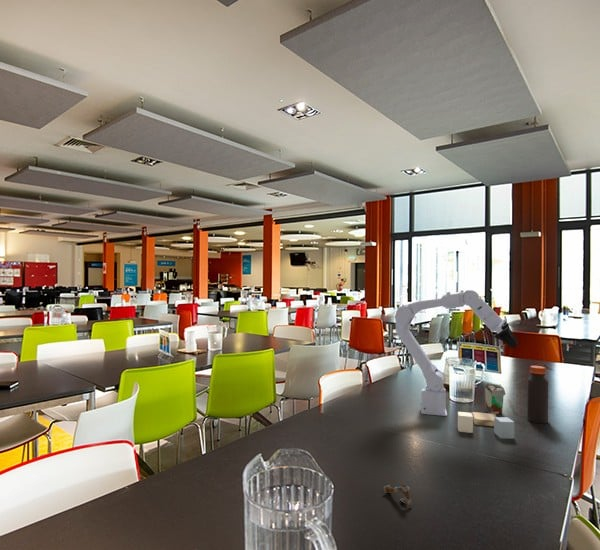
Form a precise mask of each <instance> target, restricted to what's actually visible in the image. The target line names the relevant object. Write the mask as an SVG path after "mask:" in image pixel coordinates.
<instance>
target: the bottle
mask: <svg viewBox="0 0 600 550" xmlns="http://www.w3.org/2000/svg"><path fill="white" fill-rule="evenodd" d="M529 369H530V371H529V372H530V377H528V378H527V379H526V380H527V386H526V387H527V388H526V391H527V392H526V395H527V401H526V404H527V405H526V407H527V410H526V416H527V417H526V419H527V421H529V422H531V423H535V424H542V425H543V424H545V425H546V424H548V423H549V380H548V379H547V378H546V377H545V376H546V367H545V366H540V365H530V368H529Z"/></svg>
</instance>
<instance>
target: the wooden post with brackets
mask: <svg viewBox="0 0 600 550" xmlns="http://www.w3.org/2000/svg"><path fill="white" fill-rule="evenodd" d="M410 490H411V488H410V487H409V485H407V484H405V483H404V484H402V486H396V487H391V485H389V484H388V485H385V486H383V491H384V493H385V492H386V493H390V492H392V493H401V492H402V493H403V495H404V498H402V497H401V498H400V499H399V502H400V501H402V502H403V503H405V504H407V505H408V507H412V506H413V503H412V499H411V497H410V494H409V491H410ZM390 494H391V493H390ZM406 502H407V503H406ZM403 503H402V504H403Z"/></svg>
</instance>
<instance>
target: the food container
mask: <svg viewBox="0 0 600 550" xmlns="http://www.w3.org/2000/svg"><path fill="white" fill-rule="evenodd" d="M505 395H506V389H505V388H504V387H503V386H502V385H500V384H499V385H498V384H494V383H487V382H485V383H484V402H485V403H484V404H485V405H484V407H485V410H486V412H488V413H489V414H495V415H496V417H499V416H500V417H501V416H502V414H503V405H504V396H505Z"/></svg>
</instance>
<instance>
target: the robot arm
mask: <svg viewBox="0 0 600 550" xmlns="http://www.w3.org/2000/svg"><path fill="white" fill-rule="evenodd" d="M464 306H468V307H469V308H470V309H471V310H472V312H473V313H474V314H475V316H477V317H478V318H479V319H480V321H481V322H482V323H484V325H485V326H486V327H487V328H488V329H489V330H490V332H491V333H494V332H495V335H494V336H493V337H494V338H495V339H498V340H500V341H502V342H503V343H505V344H506V345H507V346H508V347H510V348H511V349H515V348H516V347H518V346H519V344H518V339H517V337H516V336H515V335H514V333H513V331H512V329H511V327H510V325H509V323H506V322H507V321H508V318H505V317H504V319H502V317H501V316H499V315H498V313H497V312H496V311H494V309H493V308H492V307H491V306H490V305H489V304H488V303H487V302H486V301H484V299H483V298H482V297H480V296H479V294H478V292H477V291H476V290H472V289H471V290H470V289H467V290H465V291H464V289H463V290H460V291H456V292H452V293H451V291H447V292H446V293H445V294H443V295H442V297H440V298H434V299H426V300H417V301H415V302H411V303H408V304H405V305H401V306H400V307H397V309H396V312H395V313H394V314H395V315H394V320H395V321H394V322H395V333H396V335H397V336H398V337H399V339H400V340H401V342H402V343H403V345H404V346H405V348H406V350H407V351H408V352H409V354H410V355H411V357H412V359H413V360H414V361H415V362H416V364H417V366H418V367H419V368H420V370H421V372H422V376H423V377H424V379H425V382H426V388H421V389H420V391H421V392H420V393H421V395H420V401H421V402H420V403H419V404H420V405H419V407H420V409H421V411H420V412H421V414H422V415H423V414H424V415H430V416H431V415H433V416H443V417H448V412H447V408H446V406H447V405H446V404H447V403H446V400H447V399H446V397H447V395H446V394H447V393H446V392H447V389H446V388H445V386H444V385H445V383H446V375H445V373H444V372H442V371H441V370H439V369H438V367H437V366H436V365H435V364H433V362H432V361H431V359H430V357H428V355H427V354H426V352H425V351H424V349H423V347H422V346H421V345H420V343H419V342H418V340H417V339H416V337H415V336H414V335H413V333H412V331H411V330H410V328H411V324H412V322H413V320H414V318H415V316H416V314H419V313H420V312H422V310H426V309H433V308H438V307H443V308H445V309H453V308H454V309H456V308H463V307H464Z"/></svg>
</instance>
